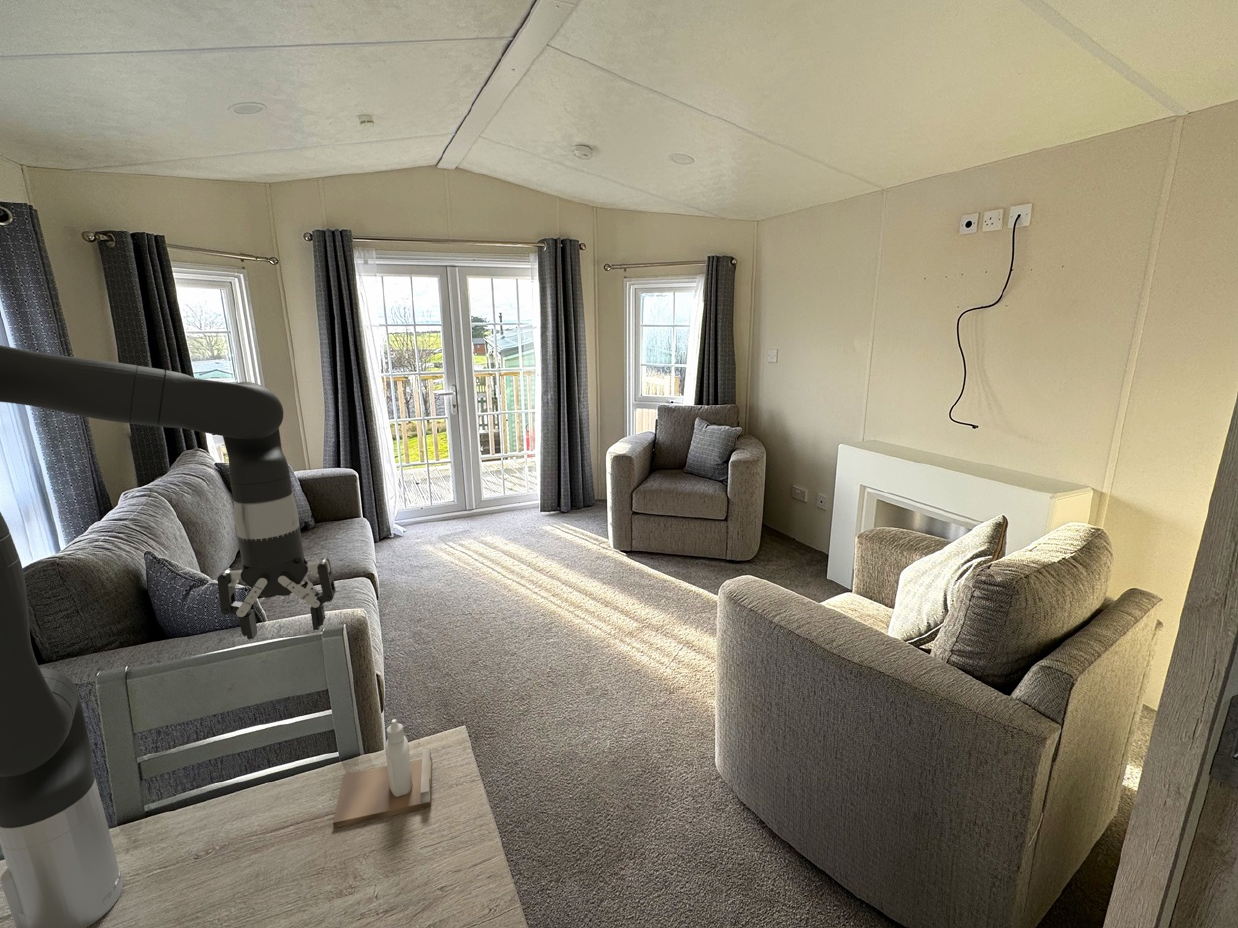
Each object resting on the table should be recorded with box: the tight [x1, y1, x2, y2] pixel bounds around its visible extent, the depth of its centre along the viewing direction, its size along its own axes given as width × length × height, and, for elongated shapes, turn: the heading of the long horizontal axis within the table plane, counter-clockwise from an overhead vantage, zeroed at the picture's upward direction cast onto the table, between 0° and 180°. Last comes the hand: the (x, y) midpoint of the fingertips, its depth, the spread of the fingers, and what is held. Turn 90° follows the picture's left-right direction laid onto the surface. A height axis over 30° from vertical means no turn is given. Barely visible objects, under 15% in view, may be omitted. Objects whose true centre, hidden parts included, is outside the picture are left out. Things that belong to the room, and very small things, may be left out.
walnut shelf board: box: [332, 747, 433, 829], centre depth 95 cm, size 14×10×3 cm
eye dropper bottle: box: [384, 718, 412, 797], centre depth 94 cm, size 4×6×12 cm
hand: (285, 632), depth 86 cm, fingers open, 8 cm apart
